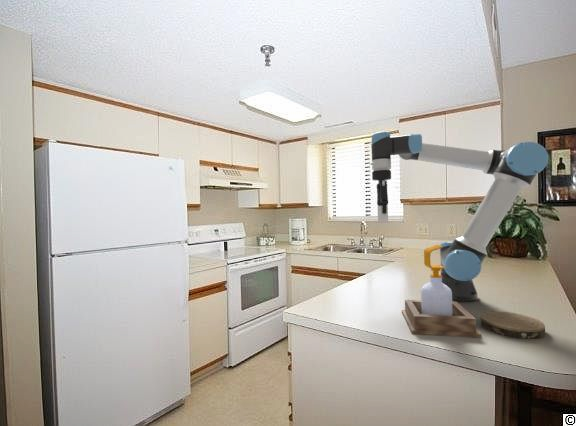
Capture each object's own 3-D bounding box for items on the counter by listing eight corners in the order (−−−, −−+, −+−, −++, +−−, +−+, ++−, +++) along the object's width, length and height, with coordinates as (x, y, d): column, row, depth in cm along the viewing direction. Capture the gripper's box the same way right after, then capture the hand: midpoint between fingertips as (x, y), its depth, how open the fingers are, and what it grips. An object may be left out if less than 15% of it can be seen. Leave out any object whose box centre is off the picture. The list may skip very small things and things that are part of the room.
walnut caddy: (458, 314, 106) (458, 300, 106) (481, 337, 87) (481, 320, 87) (401, 312, 110) (401, 298, 110) (411, 333, 91) (411, 317, 91)
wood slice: (545, 327, 94) (545, 318, 94) (544, 345, 82) (544, 334, 82) (485, 316, 104) (485, 308, 104) (476, 331, 92) (476, 321, 92)
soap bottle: (458, 325, 94) (456, 247, 94) (428, 325, 94) (426, 247, 94) (444, 315, 103) (443, 243, 103) (417, 315, 103) (415, 244, 103)
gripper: (370, 174, 138) (371, 220, 139) (374, 166, 114) (375, 222, 114) (387, 173, 137) (388, 220, 137) (395, 165, 112) (396, 222, 113)
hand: (382, 221), depth 126 cm, fingers open, 13 cm apart
